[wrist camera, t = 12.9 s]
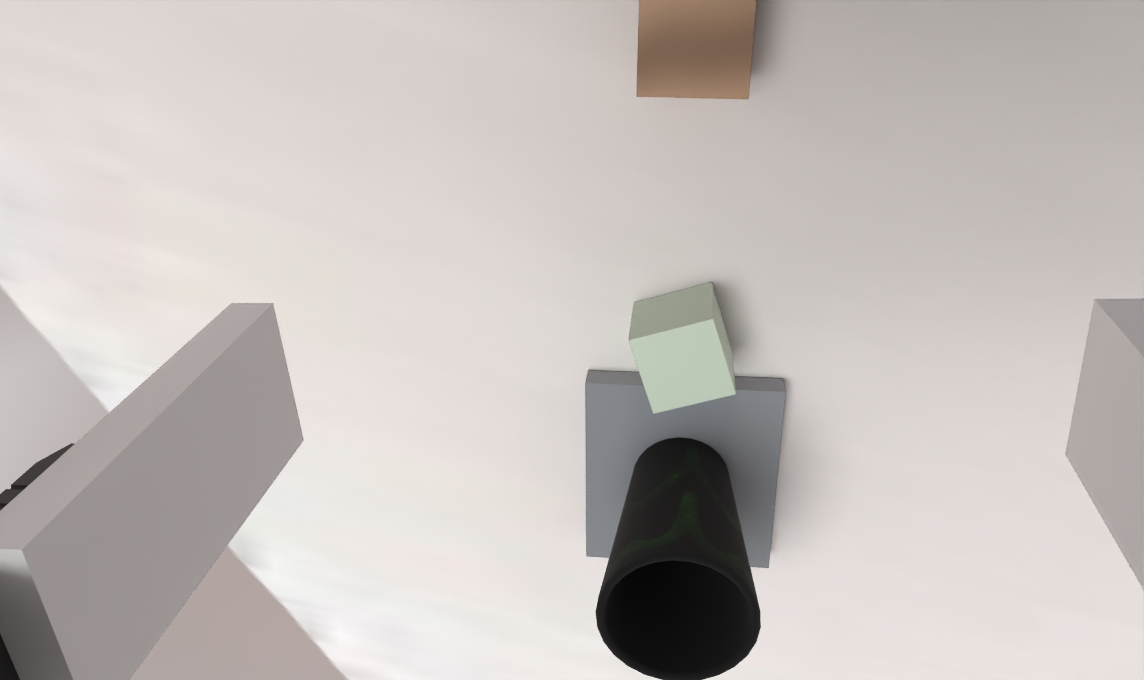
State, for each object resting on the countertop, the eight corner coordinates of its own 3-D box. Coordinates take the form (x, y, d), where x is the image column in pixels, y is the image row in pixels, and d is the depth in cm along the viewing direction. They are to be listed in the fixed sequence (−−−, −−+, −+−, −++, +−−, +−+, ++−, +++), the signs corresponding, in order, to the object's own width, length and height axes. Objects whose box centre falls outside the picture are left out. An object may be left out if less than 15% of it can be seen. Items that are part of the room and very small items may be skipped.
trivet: (588, 370, 55) (585, 383, 54) (783, 378, 54) (785, 391, 52) (589, 540, 60) (586, 556, 59) (766, 551, 59) (768, 568, 57)
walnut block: (645, -31, 46) (639, -22, 41) (751, -30, 45) (757, -21, 41) (642, 76, 48) (636, 96, 43) (743, 78, 47) (748, 99, 43)
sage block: (634, 302, 53) (628, 340, 48) (711, 281, 52) (713, 318, 47) (656, 370, 55) (653, 413, 50) (732, 351, 54) (735, 394, 49)
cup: (668, 553, 58) (662, 706, 47) (588, 466, 56) (562, 605, 45) (774, 490, 55) (794, 637, 44) (693, 397, 53) (693, 527, 42)
